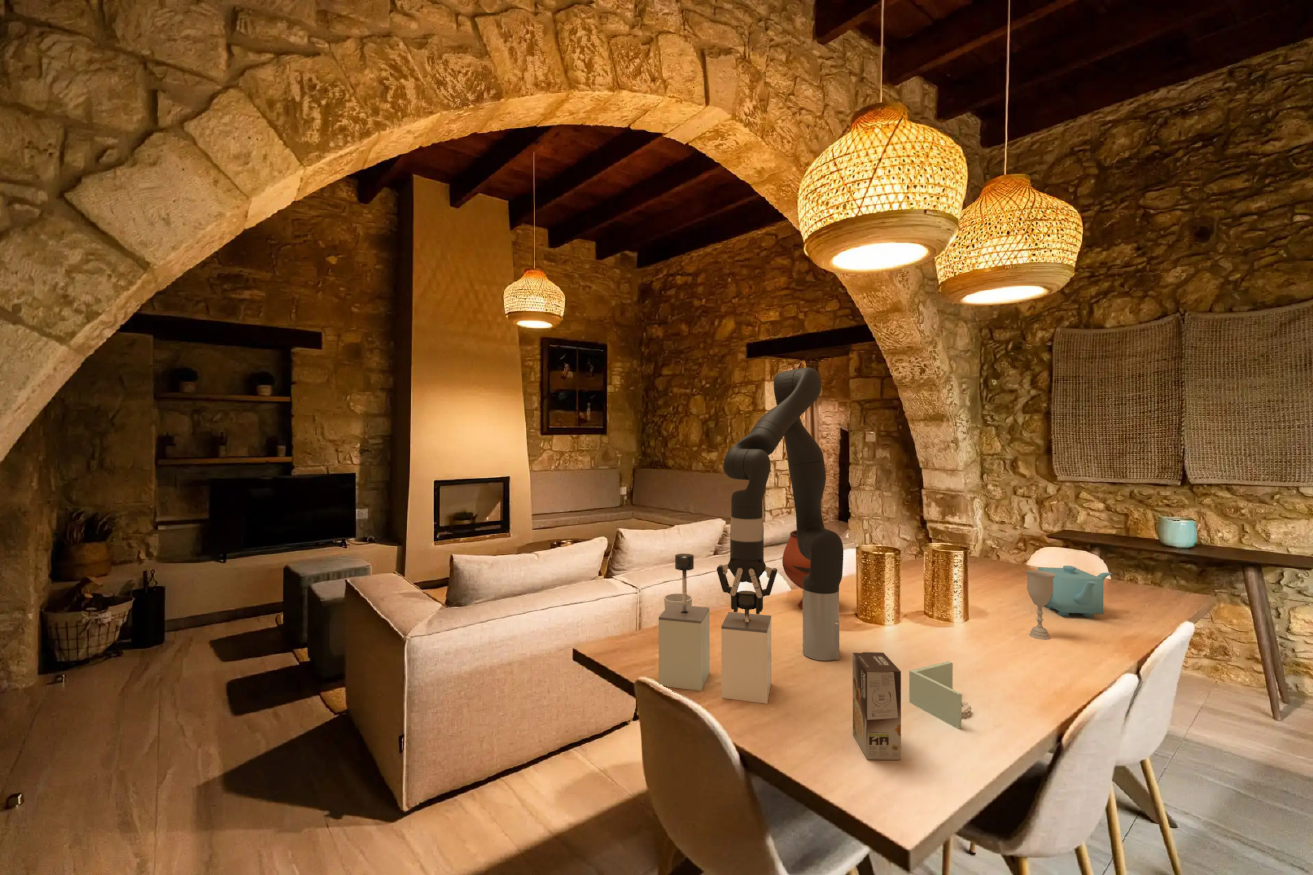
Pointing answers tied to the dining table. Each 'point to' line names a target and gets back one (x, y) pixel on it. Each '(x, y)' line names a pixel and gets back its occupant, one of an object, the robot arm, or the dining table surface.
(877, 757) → the coffee box
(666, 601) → the cup
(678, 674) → the block
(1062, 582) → the teakettle
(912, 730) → the dining table surface
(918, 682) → the l-shaped corner panel
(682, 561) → the plunger
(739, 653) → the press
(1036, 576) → the chalice
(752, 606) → the plunger
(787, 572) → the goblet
